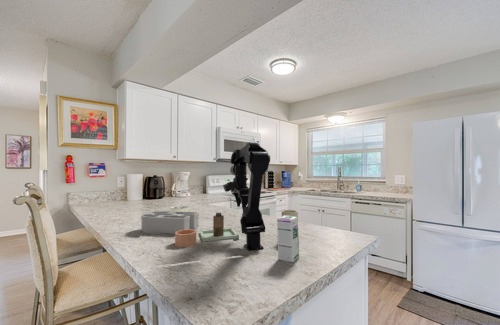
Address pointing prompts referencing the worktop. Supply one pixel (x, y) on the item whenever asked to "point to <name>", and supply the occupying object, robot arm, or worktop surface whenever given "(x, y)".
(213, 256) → the worktop surface
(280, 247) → the syrup box
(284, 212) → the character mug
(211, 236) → the tray
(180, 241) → the utensil pot
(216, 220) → the pepper mill
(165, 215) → the ice cube tray
